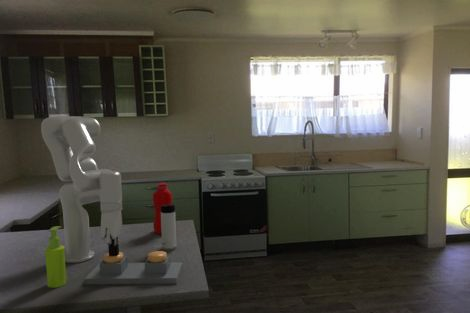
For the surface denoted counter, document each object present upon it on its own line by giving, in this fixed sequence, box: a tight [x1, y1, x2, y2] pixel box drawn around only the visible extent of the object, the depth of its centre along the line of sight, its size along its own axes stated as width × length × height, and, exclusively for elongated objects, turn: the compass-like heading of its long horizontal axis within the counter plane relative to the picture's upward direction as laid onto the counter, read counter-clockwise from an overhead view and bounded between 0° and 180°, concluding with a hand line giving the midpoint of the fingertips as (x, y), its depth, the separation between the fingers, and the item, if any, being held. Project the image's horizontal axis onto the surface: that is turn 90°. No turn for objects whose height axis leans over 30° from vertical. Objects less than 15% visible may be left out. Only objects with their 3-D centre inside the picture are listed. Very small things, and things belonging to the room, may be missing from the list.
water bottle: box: [149, 182, 173, 235], centre depth 185 cm, size 9×11×25 cm
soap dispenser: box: [45, 225, 67, 289], centre depth 127 cm, size 6×7×20 cm
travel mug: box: [160, 204, 177, 252], centre depth 161 cm, size 6×7×20 cm
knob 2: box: [147, 250, 168, 263], centre depth 134 cm, size 7×7×6 cm
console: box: [84, 255, 183, 285], centre depth 134 cm, size 32×14×6 cm, turn 90°
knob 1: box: [103, 251, 124, 263], centre depth 134 cm, size 7×7×6 cm
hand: (114, 255), depth 133 cm, fingers closed
